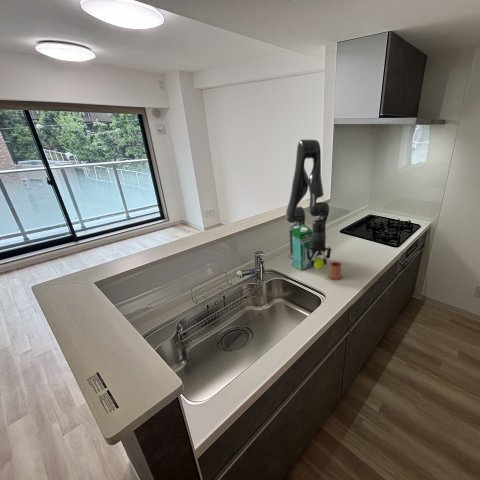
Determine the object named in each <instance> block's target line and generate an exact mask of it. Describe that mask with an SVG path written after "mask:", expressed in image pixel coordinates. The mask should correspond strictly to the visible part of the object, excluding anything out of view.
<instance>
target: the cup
mask: <svg viewBox="0 0 480 480" xmlns="http://www.w3.org/2000/svg"><path fill="white" fill-rule="evenodd" d="M329 271H330V272H329V277H330V279H332V280H340V279H341V277H342V263H341V262H338V261H333V262H331V263H330V270H329Z"/></svg>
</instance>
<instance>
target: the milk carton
mask: <svg viewBox="0 0 480 480" xmlns="http://www.w3.org/2000/svg"><path fill="white" fill-rule="evenodd" d="M311 248H312V229H311V227H308V226H307V225H306V223H305V224H302V225H298V226H294V227H292V250H293V258H292V265H293V267H296V268H297V269H298V270H300V271H303V270H306V269H309V268H311V267H313V266H311V260H308V258H307V252H306V249H311ZM312 253H313V252H312V251H311V253H310V257H311V256H312Z"/></svg>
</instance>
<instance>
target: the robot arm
mask: <svg viewBox="0 0 480 480" xmlns="http://www.w3.org/2000/svg"><path fill="white" fill-rule="evenodd" d="M295 155H296V156H295V168H294V174H293V179H292V183H291V189H290V196H289V200H288V204H287V207H286V210H285V211H286V212H285V218H286V221H287V222H288V223H290V224H293V225H291V226H290V227H289V230H288V231H289V251H290V254H289V256H290V258H291V259H293V250H292V227H294V226H298V225H302V224H305V225H306V213H305V208H303V206H299V203H300V202H301V201H302V200H303V199H304V197H306V195H307V193H308V191H309V205H308V212H309V214H310V215H311V216H312V217H317V218H315V219H314V220H312V229H311V230H312V248H311V249H306V252H307V258H308V260H311V266H312V267H314V260H315V259H316V258H317V257H318V256H322V257H323V258H322V260H323V261H324V266H326V265H327V259H330V258H331V254H332V253H331V252H332V248H331V247H330V246H328V247H326V246H327V244H326V241H327V239H326V238H327V235H326V234H327V233H326V228H327V227H326V226H327V225H326V224H327V220H328V217H329V213H330V205H329V203H328V202H327V201H318V202H317V200H318V199H319V198H323V197H324V187H323V182H322V157H321V156H322V151H321V145H320V142H319V140H317V139H300V140H299V141H298V143H297V146H296V154H295ZM307 159H312V169H311V171H310V175H308V173H307V171H306V168H305V162H306V160H307ZM311 251H312V252H313V253H312V256H311V257H310V253H311ZM325 252H326V254H325Z"/></svg>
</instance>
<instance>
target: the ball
mask: <svg viewBox="0 0 480 480" xmlns="http://www.w3.org/2000/svg"><path fill="white" fill-rule="evenodd" d="M313 261H314V266H313V267H314V268H315V270H321V269H322V268H323V267H324V266H325V265H324V261H323V258H321V257H315V258H314V260H313Z"/></svg>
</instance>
